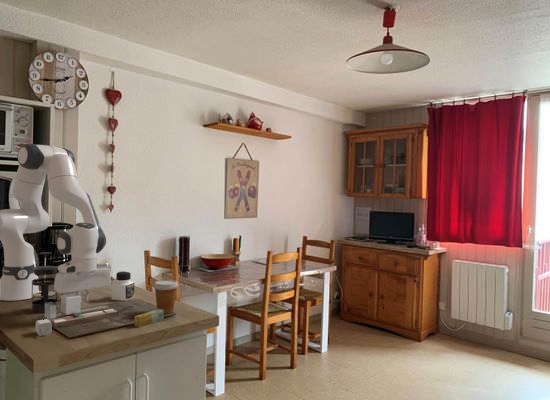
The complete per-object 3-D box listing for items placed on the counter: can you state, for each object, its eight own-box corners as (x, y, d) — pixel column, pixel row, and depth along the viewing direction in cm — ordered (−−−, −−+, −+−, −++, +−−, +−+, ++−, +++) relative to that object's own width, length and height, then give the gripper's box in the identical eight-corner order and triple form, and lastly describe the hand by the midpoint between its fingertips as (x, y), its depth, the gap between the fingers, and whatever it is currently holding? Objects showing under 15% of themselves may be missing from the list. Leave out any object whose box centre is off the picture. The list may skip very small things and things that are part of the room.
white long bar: (44, 316, 152) (44, 302, 152) (102, 306, 166) (102, 294, 166) (49, 320, 147) (50, 306, 147) (108, 309, 162) (108, 297, 162)
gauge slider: (60, 311, 155) (61, 295, 155) (74, 309, 159) (75, 293, 159) (70, 318, 148) (70, 301, 148) (84, 315, 152) (85, 298, 152)
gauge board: (42, 319, 153) (43, 314, 153) (104, 308, 169) (104, 303, 169) (54, 327, 144) (54, 322, 144) (118, 315, 160) (118, 310, 160)
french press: (29, 314, 158) (30, 254, 158) (27, 308, 166) (29, 251, 165) (63, 310, 164) (65, 253, 164) (60, 305, 172) (61, 250, 172)
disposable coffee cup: (164, 316, 161) (165, 285, 160) (148, 312, 166) (148, 282, 165) (182, 311, 169) (183, 281, 168) (165, 307, 174) (166, 278, 174)
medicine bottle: (125, 301, 181) (126, 273, 181) (111, 299, 183) (111, 272, 183) (134, 297, 188) (135, 271, 188) (120, 296, 190) (120, 270, 190)
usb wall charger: (48, 330, 142) (48, 318, 141) (53, 335, 136) (53, 323, 136) (35, 332, 139) (35, 320, 139) (39, 338, 134) (40, 326, 134)
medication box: (159, 318, 159) (159, 308, 159) (164, 319, 157) (164, 309, 157) (134, 326, 148) (134, 315, 148) (139, 328, 147) (139, 316, 147)
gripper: (107, 261, 168) (106, 295, 168) (53, 266, 153) (52, 304, 153) (114, 263, 163) (113, 298, 163) (58, 269, 149) (57, 307, 149)
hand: (83, 301), depth 158 cm, fingers closed
